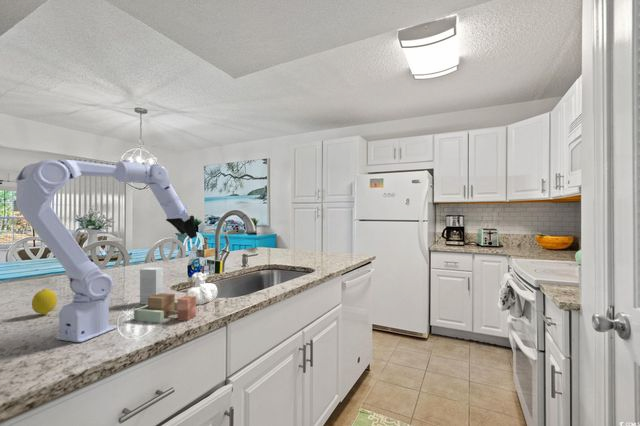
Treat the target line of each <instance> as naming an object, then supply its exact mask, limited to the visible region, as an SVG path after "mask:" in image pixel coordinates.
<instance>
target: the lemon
mask: <svg viewBox="0 0 640 426" xmlns="http://www.w3.org/2000/svg"><path fill="white" fill-rule="evenodd" d="M57 303H58V298H57V295H56V293H55V292H54V291H53V290H51V289H47V288H43V289H41V290H40V291H38V292H36V293H35V294H34V296H33V297H32V300H31V307H32V310H33V311H34V312H35V313H36V314H40V315H42V316H47V314H48V313H50V312H51V311H53V310H54V309H55V308H56V306H57Z"/></svg>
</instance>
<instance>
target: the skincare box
mask: <svg viewBox="0 0 640 426" xmlns="http://www.w3.org/2000/svg"><path fill="white" fill-rule="evenodd" d="M160 293H164V267H144V268H141V269H139V305H148V297H151V296H154V295H157V294H160Z"/></svg>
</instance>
